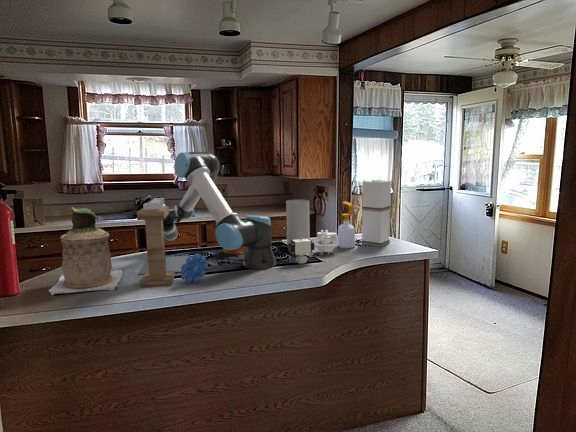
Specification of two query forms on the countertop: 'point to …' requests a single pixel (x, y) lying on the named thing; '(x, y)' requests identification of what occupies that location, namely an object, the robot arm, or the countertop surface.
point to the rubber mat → (168, 264)
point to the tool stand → (155, 248)
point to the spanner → (154, 204)
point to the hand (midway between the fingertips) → (159, 208)
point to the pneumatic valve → (301, 249)
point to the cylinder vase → (297, 220)
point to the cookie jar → (86, 257)
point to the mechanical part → (326, 241)
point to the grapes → (194, 268)
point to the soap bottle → (346, 230)
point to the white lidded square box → (376, 212)
